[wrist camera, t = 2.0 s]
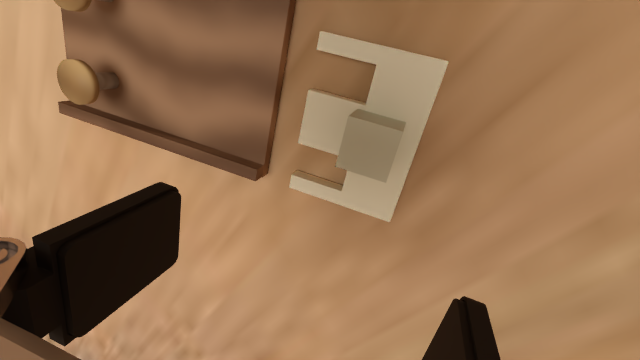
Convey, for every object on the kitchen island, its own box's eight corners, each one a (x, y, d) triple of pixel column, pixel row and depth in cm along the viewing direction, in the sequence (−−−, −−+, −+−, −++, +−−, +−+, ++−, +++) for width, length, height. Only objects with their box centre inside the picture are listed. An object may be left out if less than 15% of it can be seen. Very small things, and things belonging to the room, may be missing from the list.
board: (64, -79, 29) (-4, -105, 24) (300, -31, 25) (272, -53, 20) (82, 110, 36) (33, 117, 32) (267, 173, 32) (241, 192, 27)
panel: (325, 32, 26) (303, 25, 21) (447, 61, 24) (453, 61, 19) (294, 182, 31) (272, 203, 27) (391, 215, 30) (385, 244, 25)
